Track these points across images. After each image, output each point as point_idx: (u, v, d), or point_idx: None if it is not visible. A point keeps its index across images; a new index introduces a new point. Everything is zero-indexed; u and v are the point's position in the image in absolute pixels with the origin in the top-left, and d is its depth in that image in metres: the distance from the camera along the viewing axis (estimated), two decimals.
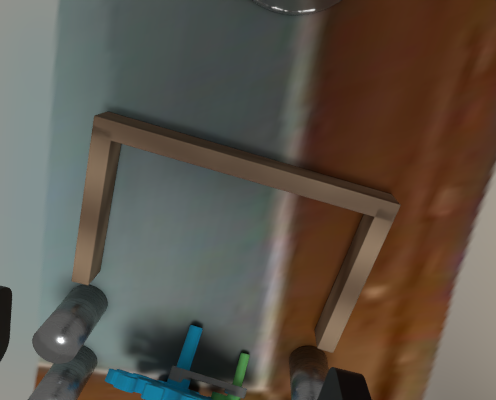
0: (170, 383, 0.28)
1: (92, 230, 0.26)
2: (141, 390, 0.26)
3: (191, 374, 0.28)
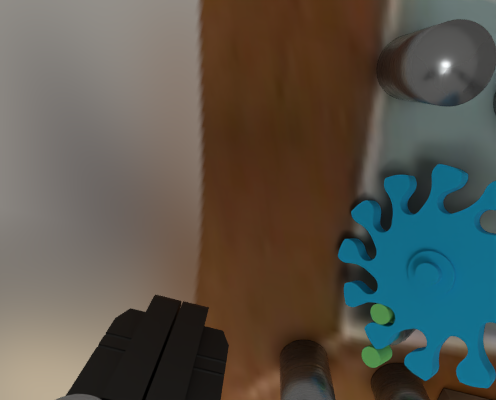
0: None
1: None
2: None
3: None
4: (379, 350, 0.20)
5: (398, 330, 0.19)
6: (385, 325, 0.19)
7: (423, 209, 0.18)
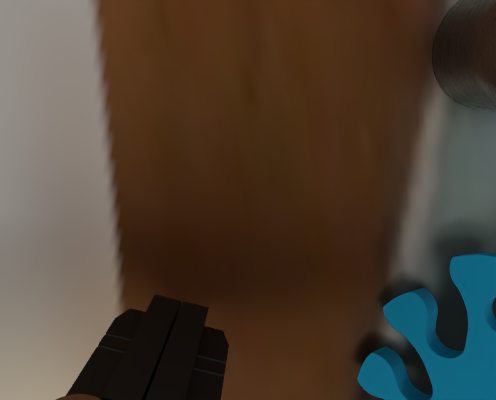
0: None
1: None
2: None
3: None
4: None
5: None
6: None
7: None
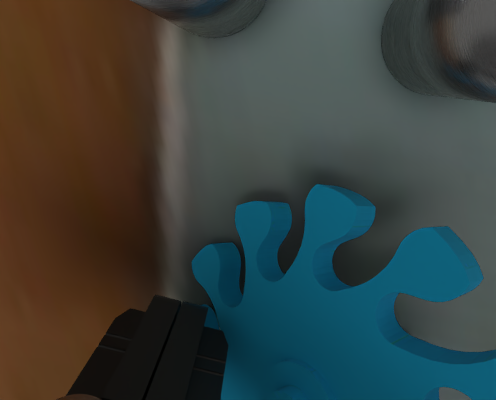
0: None
1: None
2: (429, 393, 0.07)
3: None
4: None
5: None
6: None
7: (290, 274, 0.09)
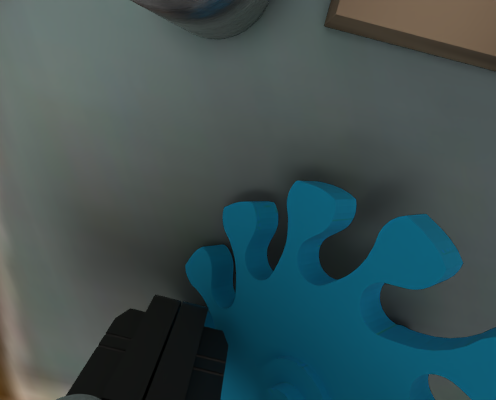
0: None
1: None
2: (416, 381, 0.07)
3: None
4: None
5: None
6: None
7: (277, 271, 0.09)
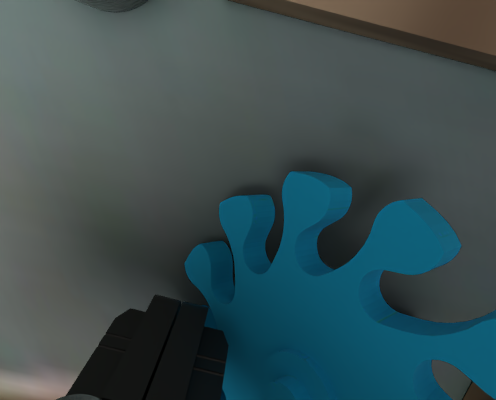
0: None
1: (419, 21, 0.08)
2: (418, 367, 0.07)
3: None
4: None
5: None
6: None
7: (275, 264, 0.09)
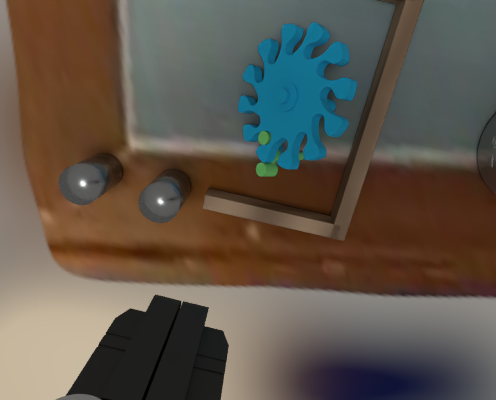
0: None
1: None
2: (318, 68, 0.25)
3: None
4: (266, 163, 0.29)
5: (273, 143, 0.28)
6: (267, 144, 0.29)
7: (279, 57, 0.27)
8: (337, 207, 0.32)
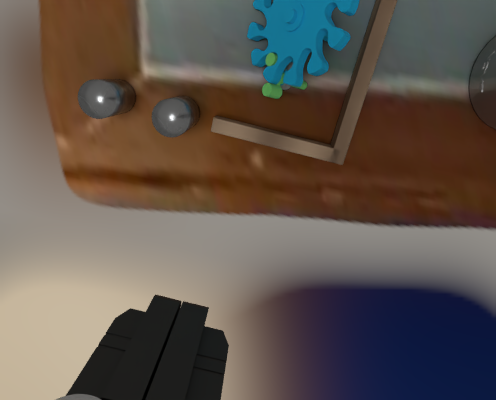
0: None
1: None
2: None
3: None
4: (272, 84, 0.31)
5: (279, 63, 0.30)
6: None
7: None
8: (337, 133, 0.34)
